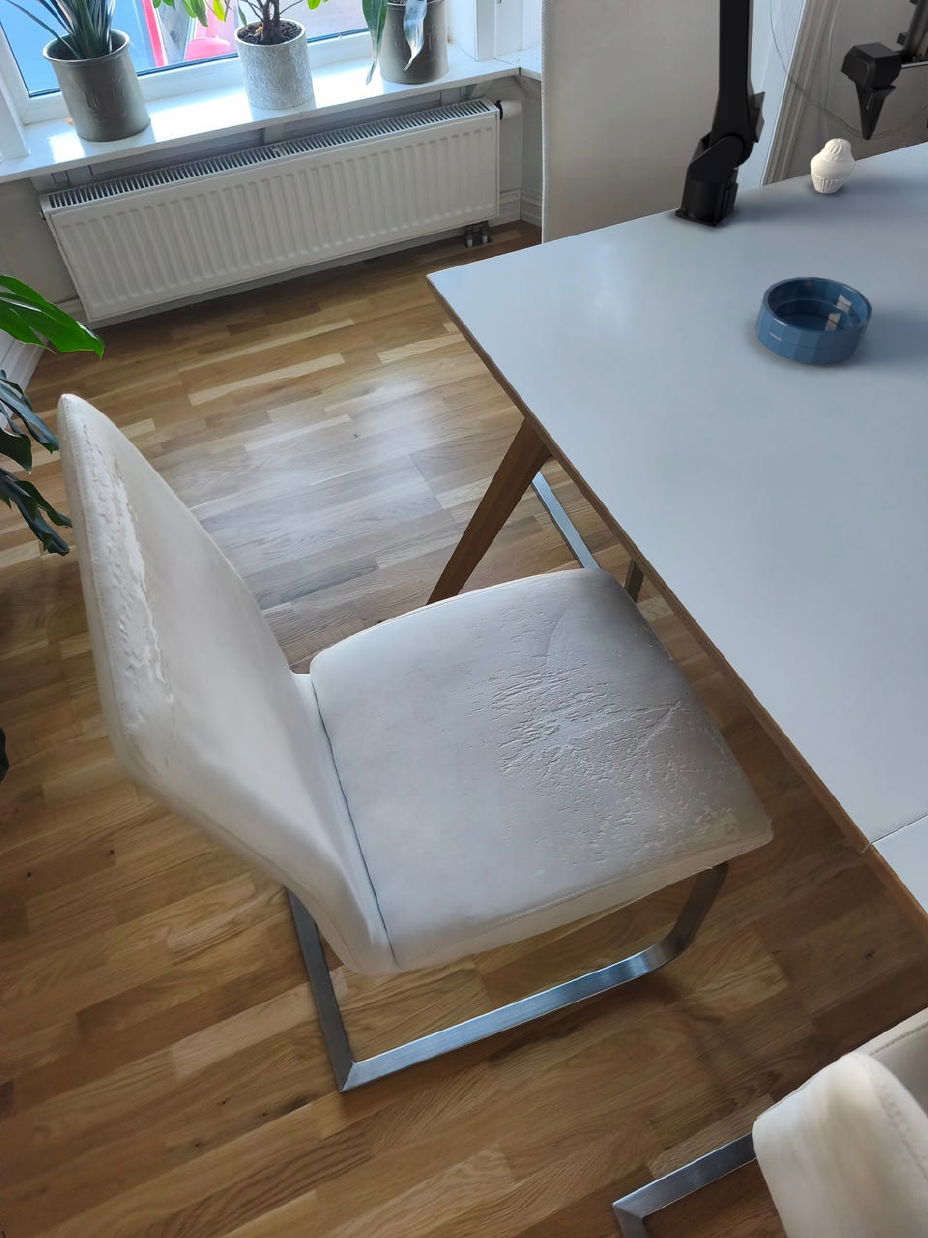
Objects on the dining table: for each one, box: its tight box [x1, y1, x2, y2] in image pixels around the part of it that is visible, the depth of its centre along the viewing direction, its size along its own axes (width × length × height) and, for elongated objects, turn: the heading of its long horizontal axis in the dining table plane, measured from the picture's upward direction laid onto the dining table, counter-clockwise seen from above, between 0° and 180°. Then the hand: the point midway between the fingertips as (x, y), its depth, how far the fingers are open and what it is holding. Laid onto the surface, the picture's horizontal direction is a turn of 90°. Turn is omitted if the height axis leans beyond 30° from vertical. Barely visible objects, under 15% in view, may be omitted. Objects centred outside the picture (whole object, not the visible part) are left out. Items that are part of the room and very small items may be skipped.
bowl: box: [754, 276, 873, 364], centre depth 101 cm, size 12×12×4 cm
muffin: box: [810, 138, 856, 194], centre depth 124 cm, size 6×6×7 cm
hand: (898, 133), depth 108 cm, fingers open, 9 cm apart
